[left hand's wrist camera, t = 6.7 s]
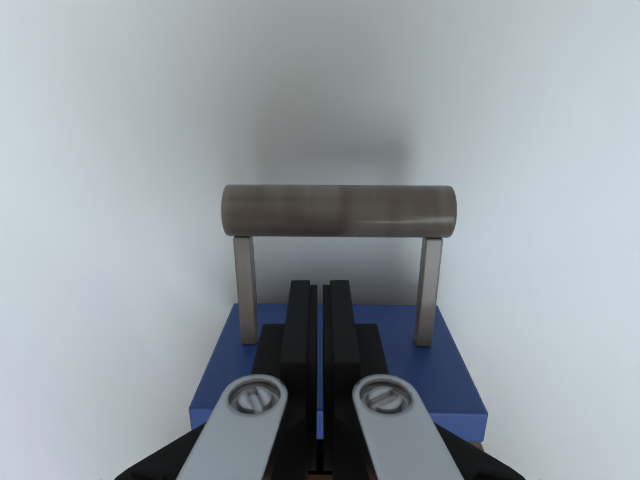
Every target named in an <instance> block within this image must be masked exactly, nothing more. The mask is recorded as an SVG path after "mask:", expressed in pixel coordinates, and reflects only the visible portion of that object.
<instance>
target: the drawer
mask: <svg viewBox="0 0 640 480" xmlns="http://www.w3.org/2000/svg"><path fill="white" fill-rule="evenodd" d="M221 217H222V224H223V228H224V231H225V233H226V235H228V236H234V238H233V241H234V254H235V267H236V279H237V292H238V303H235V304H234V305H233V307H232V310H231V312H230V314H229V317H228V319H227V321H226V324H225V326H224V328H223V331H222V333H221V335H220V337H219V340H218V342H217V344H216V347H215V349H214V351H213V354H212V356H211V358H210V361H209V363H208V365H207V368H206V370H205V372H204V374H203V377H202V379H201V381H200V384H199V386H198V388H197V391H196V393H195V395H194V398H193V400H192V402H191V405H190V407H189V414H190V421H191V428H192V430H193V429H195V428H197V427H199V426H200V425H202V424H204V423H205V422H207V421H208V419H209V417H210V415H211V413H212V411H213V410H214V408H215V406H216V404H217V402H218V400H219V398H220V397H221V395H222V393H223V391H224V390H225V389H226V387H227V386H228V385H229V384H231V383H232V382H233V381H235V380H237V379H239V378H241V377H244V376H248V375H251V372H252V368H253V363H254V359H255V355H256V351H257V347H258V342H259V338H260V334H261V330H262V326H263V324H285V321H286V314H287V307H288V304H257V297H256V281H255V264H254V247H253V236H285V237H417V238H423V240H422V251H421V262H420V273H419V284H418V295H417V305H352V307H353V314H354V321H355V324H377V326H378V330H379V334H380V338H381V342H382V347H383V351H384V355H385V359H386V363H387V368H388V372H389V375H392V376H396V377H399V378H401V379H403V380H405V381H407V382H408V383H409V384H411V385H412V386H413V387H414V389H415V390H416V391H417V393H418V395H419V397H420V398H421V400H422V402H423V404H424V406H425V408H426V410H427V411H428V413H429V415H430V417H431V419H432V421H433V422H435V423H436V424H438V425H440V426H441V427H443V428H445V429H447V430H448V431H450V432H452V433H453V434H455V435H457V436H458V437H460V438H462V439H463V440H465V441H467V442H483V440H484V434H485V428H486V423H487V417H488V412H487V410H486V408H485V406H484V404H483V402H482V400H481V397H480V395H479V393H478V391H477V389H476V387H475V385H474V383H473V380H472V378H471V376H470V374H469V372H468V370H467V368H466V366H465V364H464V361H463V359H462V357H461V355H460V353H459V351H458V349H457V347H456V344H455V342H454V340H453V338H452V336H451V334H450V332H449V330H448V327H447V325H446V323H445V321H444V319H443V317H442V315H441V313H440V310H439V308H438V306H436V299H437V290H438V281H439V271H440V262H441V253H442V244H443V239H442V238H448V237H450V236H451V235H452V234H453V231H454V228H455V224H456V218H457V202H456V196H455V192H454V190H453V188H452V187H450V186H396V185H227V186H226V187H225V188H224V191H223V195H222V202H221ZM307 475H333V473H332V471H324V453H323V304H317V453H316V471H308V473H307Z"/></svg>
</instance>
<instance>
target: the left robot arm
mask: <svg viewBox="0 0 640 480" xmlns="http://www.w3.org/2000/svg"><path fill="white" fill-rule="evenodd" d="M316 453H317V285H310V280H292V281H291V287H290V294H289V301H288V307H287V314H286V321H285V324H263V326H262V330H261V334H260V338H259V342H258V347H257V351H256V355H255V359H254V363H253V368H252V372H251V375H248V376H244V377H241V378H239V379H237V380H235V381H233V382H232V383H231V384H229V385H228V386H227V387H226V389H225V390H224V391H223V393H222V395H221V397H220V398H219V400H218V402H217V404H216V406H215V408H214V410H213V411H212V413H211V415H210V417H209V419H208V421H207V422H205V423H204V424H202V425H200V426H199V427H197V428H195V429H193V430H192V431H190V432H188V433H187V434H185V435H183V436H182V437H180V438H178V439H177V440H175V441H173V442H172V443H170V444H168V445H167V446H165V447H163V448H162V449H160V450H158V451H157V452H155V453H153V454H152V455H150V456H148V457H147V458H145V459H143V460H141V461H140V462H138V463H136V464H135V465H133V466H131V467H130V468H128V469H127V470H125V471H124V472H123V473H121V474H120V475H119V476H117V477H116V478H115V479H114V480H307V473H308V471H316ZM323 453H324V471H332V473H333V480H526V479H525V478H524V477H523V476H521V475H520V474H519V473H517V472H516V471H515V470H513V469H512V468H510V467H509V466H507V465H505V464H504V463H502V462H500V461H499V460H497V459H495V458H493V457H492V456H490V455H488V454H487V453H485V452H483V451H482V450H480V449H478V448H477V447H475V446H473V445H472V444H470V443H468V442H467V441H465V440H463V439H462V438H460V437H458V436H457V435H455V434H453V433H452V432H450V431H448V430H447V429H445V428H443V427H441V426H440V425H438V424H436V423H435V422H433V421H432V419H431V417H430V415H429V413H428V411H427V410H426V408H425V406H424V404H423V402H422V400H421V398H420V397H419V395H418V393H417V391H416V390H415V389H414V387H413V386H412V385H411V384H409V383H408V382H407V381H405V380H403V379H401V378H399V377H396V376H392V375H389V372H388V368H387V363H386V359H385V355H384V351H383V347H382V342H381V338H380V334H379V330H378V326H377V324H355V321H354V314H353V307H352V301H351V294H350V287H349V281H348V280H330V285H323Z"/></svg>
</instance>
